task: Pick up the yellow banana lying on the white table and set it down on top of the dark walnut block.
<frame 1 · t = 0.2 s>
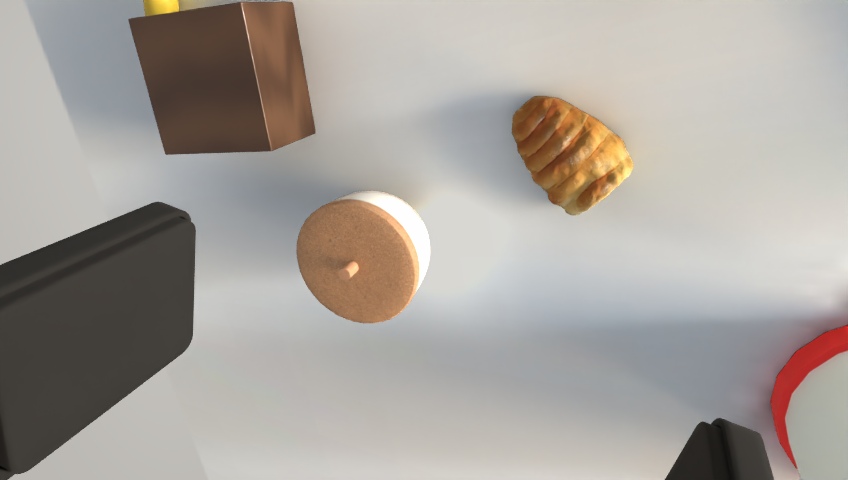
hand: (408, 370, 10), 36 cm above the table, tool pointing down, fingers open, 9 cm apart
trinket box: (391, 230, 52), on the table
block: (252, 75, 50), on the table
pastry: (571, 154, 44), on the table
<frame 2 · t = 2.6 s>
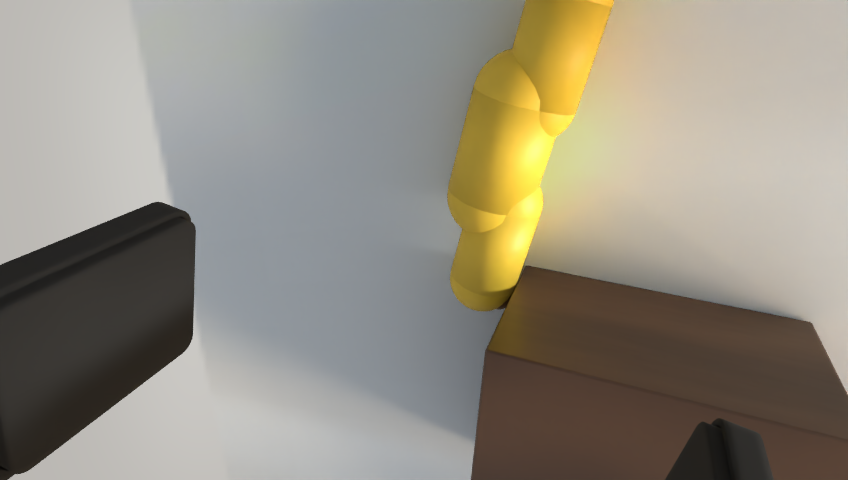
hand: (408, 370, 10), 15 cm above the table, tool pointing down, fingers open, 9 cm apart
block: (631, 397, 25), on the table
banana: (513, 139, 23), on the table, touching block
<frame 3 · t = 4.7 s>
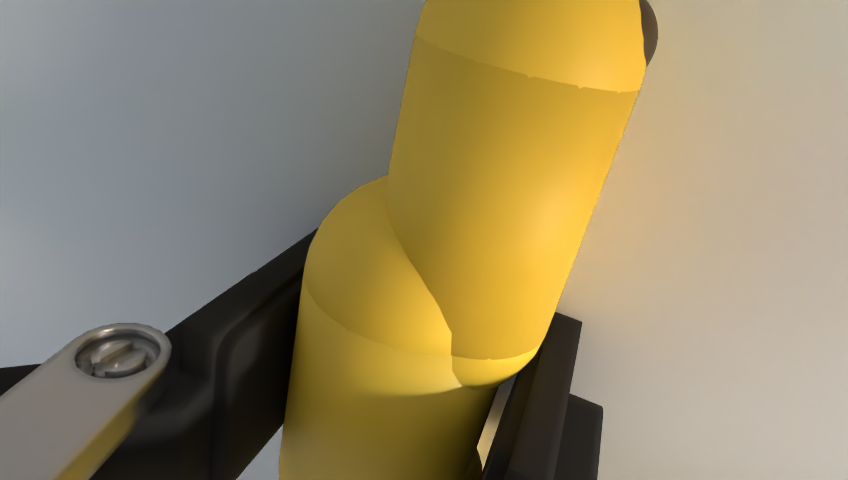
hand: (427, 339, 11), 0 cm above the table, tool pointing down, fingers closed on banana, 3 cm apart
banana: (424, 329, 11), on the table, touching gripper
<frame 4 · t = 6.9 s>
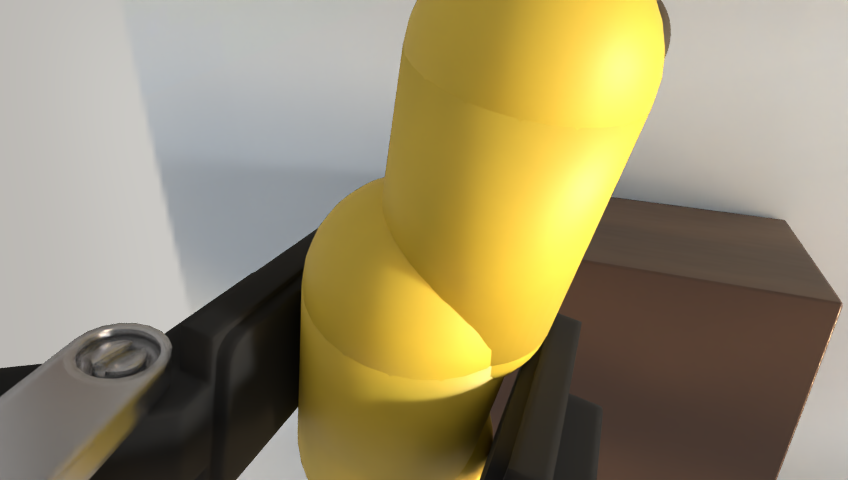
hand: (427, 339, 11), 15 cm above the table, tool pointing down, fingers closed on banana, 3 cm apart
block: (613, 314, 25), on the table
banana: (402, 296, 11), point 15 cm above the table, tilted 26°, touching gripper
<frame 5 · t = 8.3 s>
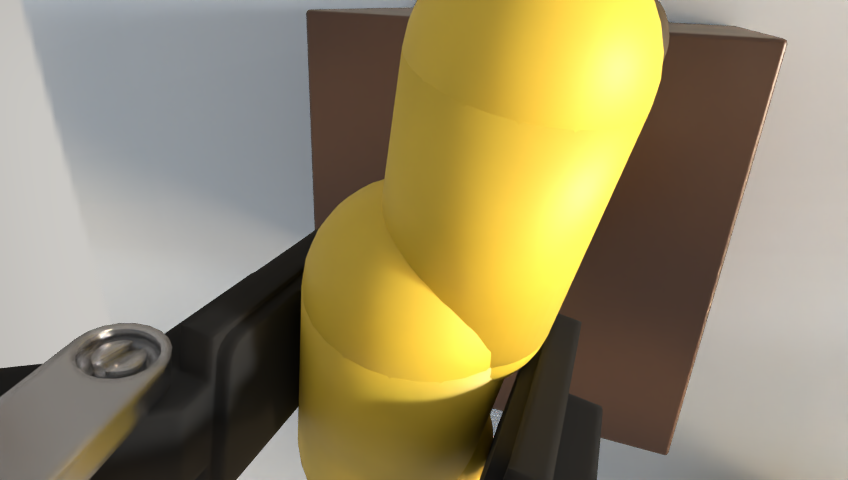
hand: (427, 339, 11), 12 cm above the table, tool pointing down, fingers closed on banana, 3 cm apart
block: (536, 173, 21), on the table
banana: (402, 298, 11), point 12 cm above the table, tilted 26°, touching gripper
when the fingers open (9 cm above the table, at t = 9.3 s): banana drops 1 cm, resting on block.
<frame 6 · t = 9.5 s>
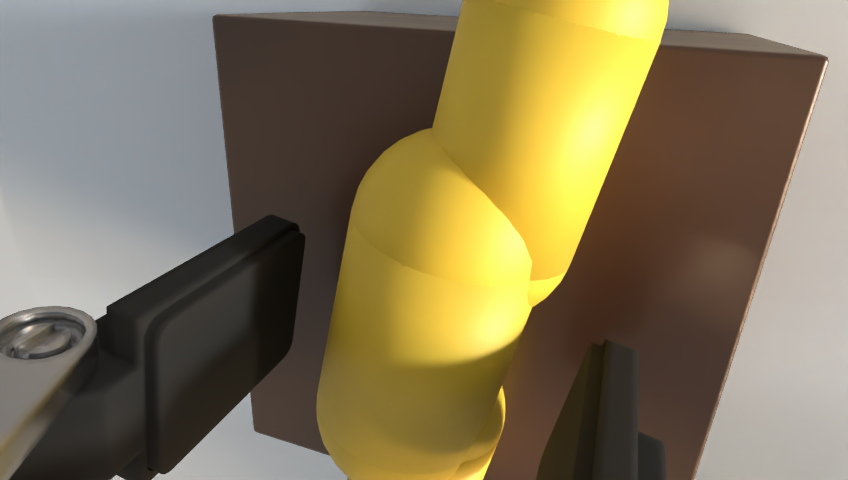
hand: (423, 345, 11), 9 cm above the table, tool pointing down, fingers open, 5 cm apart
block: (514, 203, 18), on the table
banana: (415, 273, 12), point 7 cm above the table, tilted 27°, touching block
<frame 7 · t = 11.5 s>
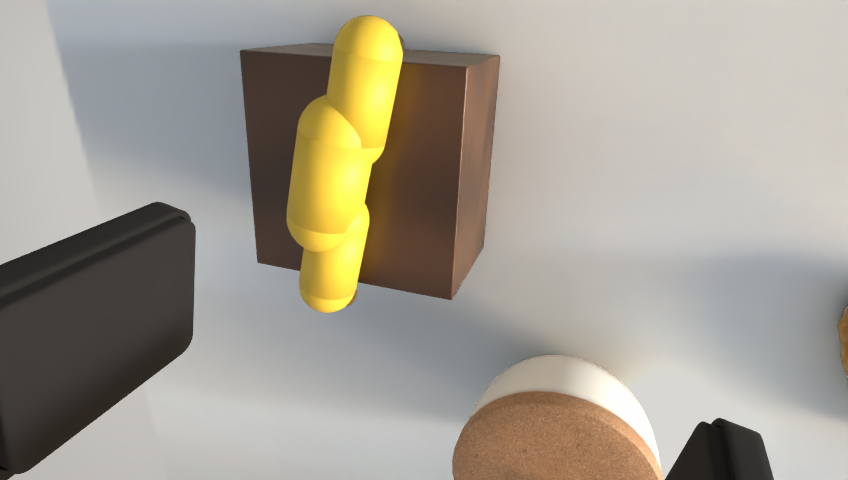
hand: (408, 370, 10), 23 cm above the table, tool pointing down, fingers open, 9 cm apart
trinket box: (566, 397, 36), on the table
block: (399, 147, 33), on the table
banana: (331, 163, 26), point 7 cm above the table, tilted 25°, touching block
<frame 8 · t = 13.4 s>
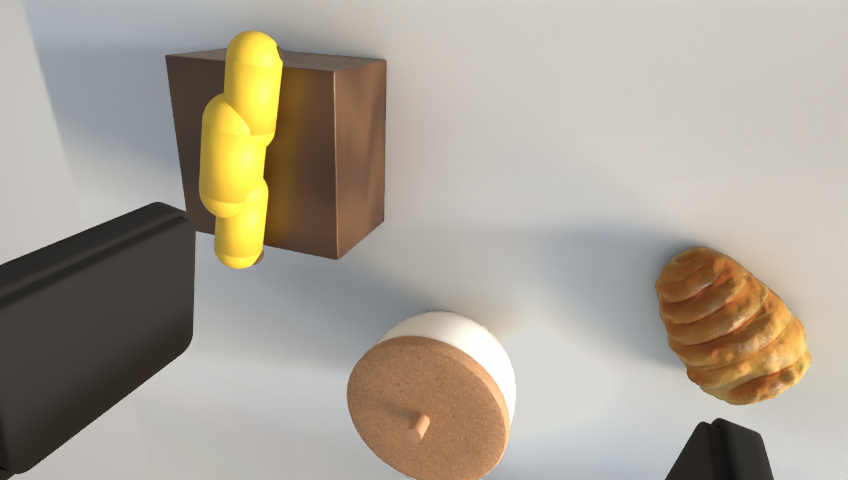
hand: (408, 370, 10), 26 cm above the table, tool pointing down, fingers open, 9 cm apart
trinket box: (458, 350, 42), on the table
block: (313, 135, 39), on the table
pastry: (721, 318, 34), on the table
banana: (239, 147, 33), point 7 cm above the table, tilted 25°, touching block
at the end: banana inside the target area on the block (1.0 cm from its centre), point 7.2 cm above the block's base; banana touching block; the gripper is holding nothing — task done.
